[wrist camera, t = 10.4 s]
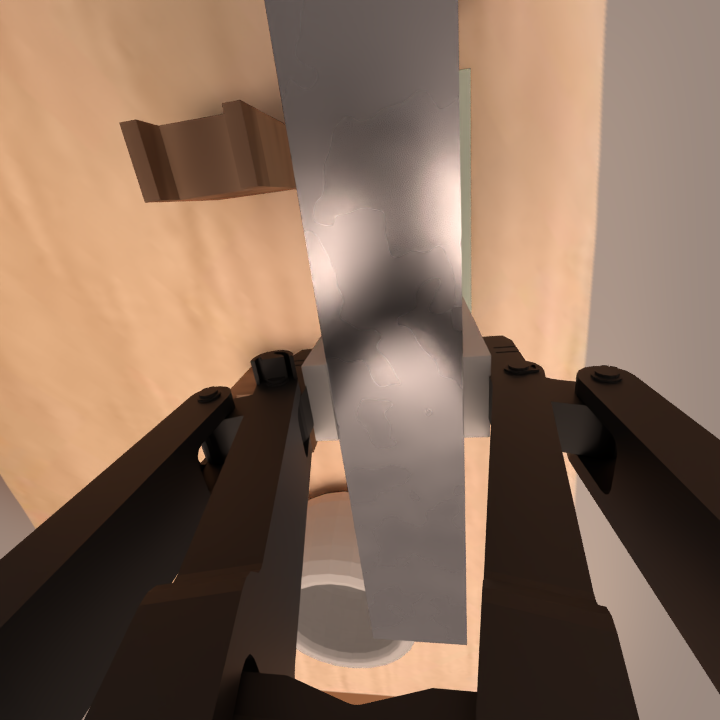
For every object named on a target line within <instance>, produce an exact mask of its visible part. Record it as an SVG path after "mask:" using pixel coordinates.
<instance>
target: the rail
mask: <svg viewBox="0 0 720 720" xmlns="http://www.w3.org/2000/svg"><path fill="white" fill-rule="evenodd" d="M264 1H265V7H266V13H267V19H268V25H269V30H270V36H271V42H272V48H273V54H274V60H275V66H276V71H277V77H278V83H279V89H280V95H281V101H282V107H283V112H284V118H285V124H286V130H287V136H288V142H289V147H290V153H291V159H292V165H293V171H294V177H295V183H296V188H297V194H298V200H299V206H300V212H301V218H302V224H303V229H304V235H305V241H306V247H307V253H308V259H309V264H310V270H311V276H312V282H313V288H314V294H315V300H316V305H317V311H318V317H319V323H320V329H321V335H322V341H323V346H324V352H325V358H326V363H327V368H328V373H329V379H330V385H331V391H332V397H333V403H334V409H335V414H336V420H337V426H338V432H339V440H340V446H341V452H342V457H343V463H344V469H345V475H346V481H347V487H348V493H349V498H350V504H351V510H352V516H353V522H354V528H355V534H356V539H357V545H358V551H359V557H360V563H361V569H362V574H363V580H364V586H365V592H366V598H367V604H368V610H369V615H370V621H371V627H372V633H373V639H386V640H401V641H416V642H430V643H445V644H460V645H467V615H466V543H465V470H464V430H463V361H462V355H463V326H462V253H461V181H460V109H459V36H458V0H264Z"/></svg>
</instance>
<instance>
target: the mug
mask: <svg viewBox="0 0 720 720" xmlns="http://www.w3.org/2000/svg"><path fill="white" fill-rule="evenodd" d="M414 642H415V641H401V640H386V639H373V633H372V627H371V621H370V615H369V610H368V604H367V598H366V592H365V586H364V580H363V574H362V569H361V563H360V557H359V551H358V545H357V539H356V534H355V528H354V522H353V516H352V510H351V504H350V498H349V493H348V492H336V493H328V494H323V495H320V496H318V497H315V498H312V499H310V500H308V506H307V519H306V531H305V544H304V556H303V569H302V582H301V594H300V607H299V620H298V632H297V645H296V649H297V650H299V651H300V652H302V653H304V654H306V655H308V656H310V657H312V658H314V659H316V660H318V661H322V662H325V663H328V664H332V665H335V666H342V667H349V668H372V667H377V666H383V665H387V664H389V663H392V662H394V661H396V660H398V659H400V658H401V657H403V656H404V655H405V654H406V653H407V652H409V651H410V649H411V647H412V645H413V644H414Z"/></svg>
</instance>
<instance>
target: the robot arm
mask: <svg viewBox="0 0 720 720" xmlns="http://www.w3.org/2000/svg"><path fill="white" fill-rule="evenodd" d="M462 326H463V355H462V361H463V430H464V438H465V437H490V457H489V479H488V500H487V522H486V543H485V565H484V580H483V587H482V605H481V626H480V646H479V666H478V687H477V692H471V691H459V690H448V689H437V688H431V689H427V690H423V691H418V692H414V693H410V694H405V695H401V696H397V697H392V698H388V699H384V700H379V701H375V702H371V703H367V704H362V705H352V704H349V703H346V702H344V701H342V700H340V699H338V698H335V697H333V696H331V695H329V694H327V693H325V692H322V691H320V690H318V689H316V688H314V687H311V686H309V685H307V684H305V683H303V682H301V681H298V680H296V679H295V657H296V645H297V632H298V620H299V607H300V594H301V582H302V569H303V556H304V544H305V531H306V519H307V506H308V493H309V481H310V468H311V456H312V445H311V440H310V433H311V431H312V429H313V428H314V433H315V438H316V441H333V440H339V432H338V426H337V420H336V414H335V409H334V403H333V397H332V391H331V385H330V379H329V373H328V368H327V363H326V358H325V352H324V346H323V341H322V335H321V337H320V338H319V340H318V341H317V343H316V345H315V346H314V348H313V349H307V350H302V351H300V352H298V353H297V354H295V355H294V356H293V354H292V352H290V351H285V350H278V351H271V352H266V353H263V354H260V355H258V356H256V357H255V358H253V359H252V360H251V361H250V362H251V366H252V369H253V373H254V377H255V381H256V388H255V390H254V392H253V395H249V396H244V397H239V398H234V399H233V396H232V393H231V390H230V388H228V387H222V386H219V387H214V386H213V387H209V388H205V389H203V390H202V391H200V392H197V393H195V394H194V395H192V396H191V397H190V398H188V399H187V400H186V401H185V402H184V403H183V404H181V405H180V406H179V407H178V408H177V409H176V410H174V411H173V412H172V413H171V414H170V415H169V416H167V417H166V418H165V419H164V420H163V421H162V422H160V423H159V424H158V425H157V426H156V427H155V428H153V429H152V430H151V431H150V432H149V433H148V434H146V435H145V436H144V437H143V438H142V439H141V440H139V441H138V442H137V443H136V444H135V445H134V446H132V447H131V448H130V449H129V450H128V451H127V452H125V453H124V454H123V455H122V456H121V457H120V458H118V459H117V460H116V461H115V462H114V463H113V464H111V465H110V466H109V467H108V468H107V469H106V470H104V471H103V472H102V473H101V474H100V475H99V476H97V477H96V478H95V479H94V480H93V481H92V482H90V483H89V484H88V485H87V486H86V487H85V488H83V489H82V490H81V491H80V492H79V493H78V494H76V495H75V496H74V497H73V498H72V499H71V500H69V501H68V502H67V503H66V504H65V505H64V506H62V507H61V508H60V509H59V510H58V511H57V512H55V513H54V514H53V515H52V516H51V517H49V518H48V519H47V520H46V521H45V522H44V523H42V524H41V525H40V526H39V527H38V528H37V529H35V530H34V532H32V533H31V534H30V535H29V536H27V537H26V538H25V539H24V540H23V541H22V542H20V543H19V544H18V545H17V546H16V547H15V548H13V549H12V550H11V551H10V552H9V553H8V554H6V555H5V556H4V557H3V558H2V559H0V720H82V718H83V717H84V715H85V714H86V712H87V711H88V709H89V708H90V709H89V711H88V713H87V715H86V717H85V719H84V720H639V716H638V713H637V708H636V704H635V701H634V697H633V693H632V689H631V685H630V681H629V677H628V673H627V669H626V665H625V662H624V658H623V654H622V650H621V646H620V642H619V638H618V634H617V631H616V628H615V625H614V622H613V619H612V616H611V614H610V612H609V611H608V609H607V607H605V606H600V605H598V604H597V602H596V600H595V596H594V592H593V588H592V583H591V579H590V575H589V570H588V565H587V561H586V556H585V552H584V547H583V543H582V539H581V534H580V530H579V525H578V521H577V516H576V512H575V507H574V503H573V498H572V494H571V489H570V485H569V480H568V476H567V471H566V467H565V462H564V458H563V453H562V452H566V453H567V456H568V459H569V461H570V463H571V464H572V466H573V467H574V469H575V471H576V472H577V474H578V475H579V477H580V478H581V480H582V481H583V483H584V484H585V486H586V488H587V489H588V491H589V492H590V494H591V495H592V497H593V498H594V500H595V502H596V503H597V505H598V506H599V508H600V509H601V511H602V512H603V514H604V515H605V517H606V519H607V520H608V521H609V523H610V525H611V526H612V528H613V529H614V531H615V532H616V534H617V536H618V537H619V539H620V540H621V542H622V543H623V545H624V546H625V548H626V549H627V551H628V553H629V554H630V556H631V557H632V559H633V560H634V562H635V563H636V565H637V567H638V568H639V570H640V571H641V573H642V574H643V576H644V577H645V579H646V581H647V582H648V584H649V585H650V587H651V588H652V590H653V591H654V593H655V595H656V596H657V598H658V599H659V600H660V602H661V604H662V605H663V607H664V608H665V610H666V612H667V613H668V615H669V616H670V618H671V619H672V621H673V622H674V624H675V626H676V627H677V629H678V630H679V632H680V633H681V635H682V636H683V638H684V639H685V641H686V643H687V644H688V645H689V647H690V649H691V650H692V652H693V653H694V655H695V657H696V658H697V660H698V661H699V663H700V664H701V666H702V667H703V669H704V670H705V672H706V674H707V675H708V677H709V678H710V679H711V681H712V683H713V684H714V686H715V688H716V689H717V691H718V692H719V694H720V440H719V439H718V438H716V437H715V436H714V435H713V434H711V433H710V432H709V431H707V430H706V429H705V428H703V427H702V426H701V425H699V424H698V423H697V422H695V421H694V420H693V419H692V418H690V417H689V416H687V415H686V414H685V413H684V412H682V411H681V410H680V409H678V408H677V407H676V406H674V405H673V404H672V403H670V402H669V401H668V400H666V399H665V398H664V397H662V396H661V395H660V394H659V393H657V392H656V391H655V390H653V389H652V388H651V387H649V386H648V385H647V384H645V383H644V382H643V381H641V380H640V379H639V378H637V377H636V376H635V375H633V374H631V373H629V372H628V371H625V370H622V369H618V368H617V367H613V366H610V367H609V366H606V365H602V366H592V367H585V368H583V369H581V370H579V371H578V373H577V376H576V382H574V381H564V380H556V379H550V378H546V377H545V372H544V370H543V368H542V367H541V366H539V365H538V364H536V363H532V362H529V361H525V359H524V358H523V356H522V355H521V353H520V352H519V350H518V349H517V347H516V346H515V344H514V343H513V341H512V340H510V339H508V338H506V337H504V336H489V337H482V335H481V333H480V331H479V329H478V327H477V325H476V323H475V321H474V319H473V317H472V315H471V312H470V310H469V308H468V306H467V304H466V302H465V300H464V298H463V297H462ZM490 424H491V436H490ZM201 446H202V449H203V452H204V454H205V457H206V458H205V459H204V460H203V461H202V462H201V463H200V462H199V460H198V452H199V448H200V447H201ZM177 574H178V575H177ZM176 576H177V577H176ZM175 577H176V579H175ZM174 579H175V580H174ZM173 580H174V582H173ZM172 582H173V583H172Z"/></svg>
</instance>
